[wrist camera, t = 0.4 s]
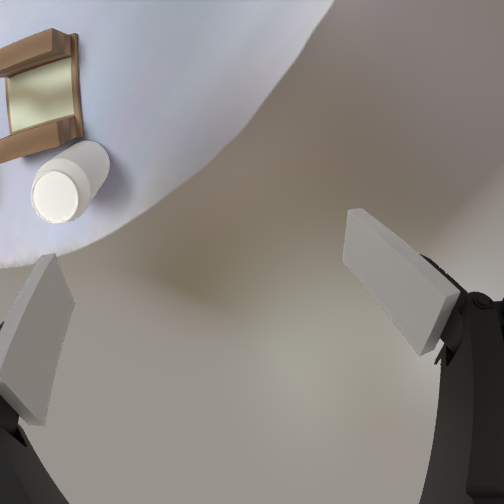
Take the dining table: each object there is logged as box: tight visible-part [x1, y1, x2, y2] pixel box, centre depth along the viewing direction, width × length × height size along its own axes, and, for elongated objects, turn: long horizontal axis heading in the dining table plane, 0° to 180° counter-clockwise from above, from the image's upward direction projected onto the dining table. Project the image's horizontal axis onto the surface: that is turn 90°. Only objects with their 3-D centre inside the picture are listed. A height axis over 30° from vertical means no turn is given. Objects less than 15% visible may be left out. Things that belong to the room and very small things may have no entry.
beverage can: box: [31, 141, 110, 224], centre depth 27 cm, size 6×6×12 cm
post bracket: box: [0, 28, 84, 164], centre depth 23 cm, size 13×10×7 cm
